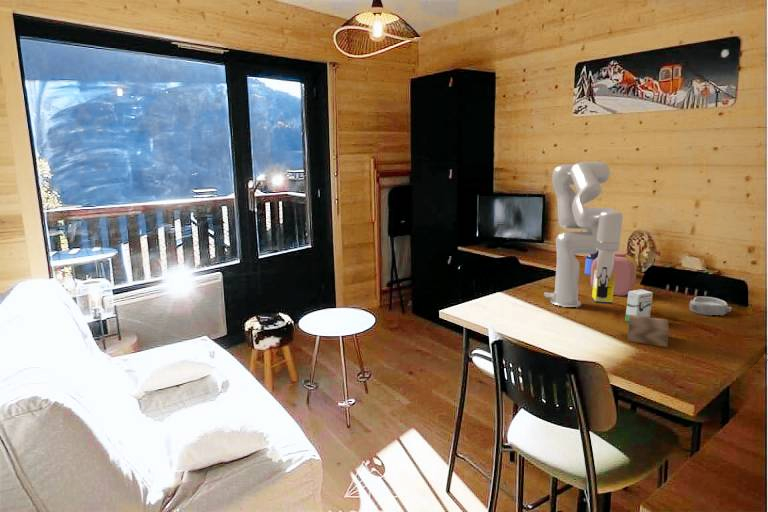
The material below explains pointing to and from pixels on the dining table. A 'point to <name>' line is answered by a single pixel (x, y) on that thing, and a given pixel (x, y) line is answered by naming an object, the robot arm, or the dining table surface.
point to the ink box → (638, 303)
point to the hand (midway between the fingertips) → (602, 293)
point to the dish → (709, 306)
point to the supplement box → (609, 292)
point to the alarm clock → (621, 273)
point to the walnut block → (648, 330)
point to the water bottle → (590, 262)
